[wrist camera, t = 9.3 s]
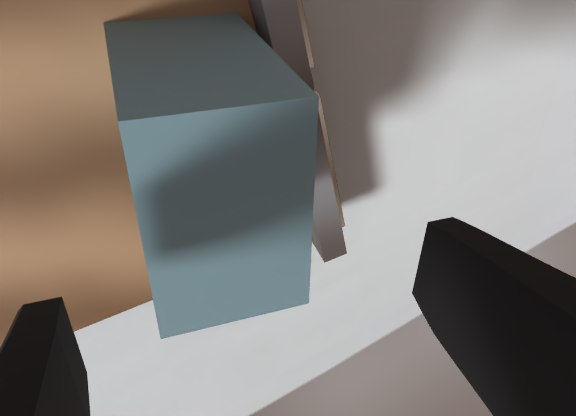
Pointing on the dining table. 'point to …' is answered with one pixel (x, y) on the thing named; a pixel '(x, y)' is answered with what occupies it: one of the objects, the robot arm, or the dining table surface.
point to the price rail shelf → (101, 152)
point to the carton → (215, 166)
